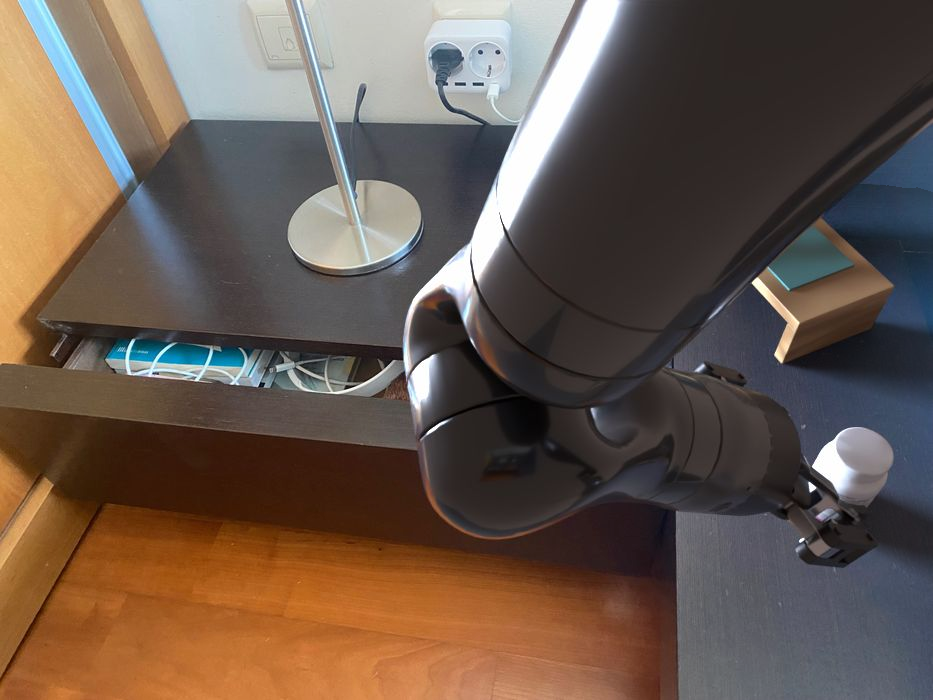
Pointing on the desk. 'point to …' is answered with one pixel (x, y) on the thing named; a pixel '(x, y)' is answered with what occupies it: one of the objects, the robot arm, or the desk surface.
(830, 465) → the pill bottle
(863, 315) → the chair
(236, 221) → the desk surface
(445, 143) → the desk surface
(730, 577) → the desk surface
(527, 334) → the robot arm
